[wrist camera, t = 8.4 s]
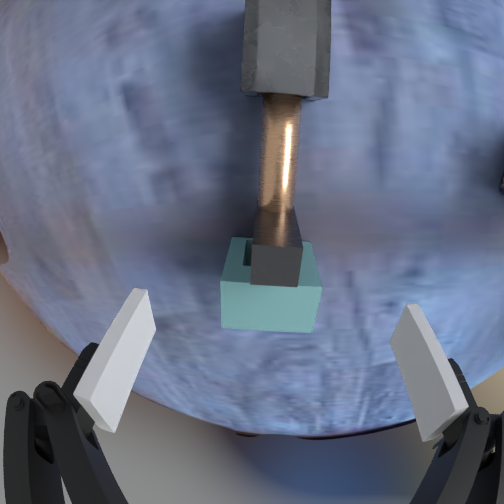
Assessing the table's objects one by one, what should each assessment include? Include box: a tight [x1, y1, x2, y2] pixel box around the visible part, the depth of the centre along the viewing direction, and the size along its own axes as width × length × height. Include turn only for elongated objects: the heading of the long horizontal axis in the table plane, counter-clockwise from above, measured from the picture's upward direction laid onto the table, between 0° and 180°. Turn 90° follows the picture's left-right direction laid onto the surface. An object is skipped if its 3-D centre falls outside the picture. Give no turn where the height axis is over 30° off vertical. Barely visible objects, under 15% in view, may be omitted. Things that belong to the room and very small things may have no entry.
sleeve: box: [241, 0, 331, 101], centre depth 17 cm, size 9×6×6 cm, turn 178°
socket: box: [220, 237, 322, 333], centre depth 27 cm, size 5×8×8 cm, turn 88°
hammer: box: [250, 93, 303, 287], centre depth 21 cm, size 20×3×9 cm, turn 178°
